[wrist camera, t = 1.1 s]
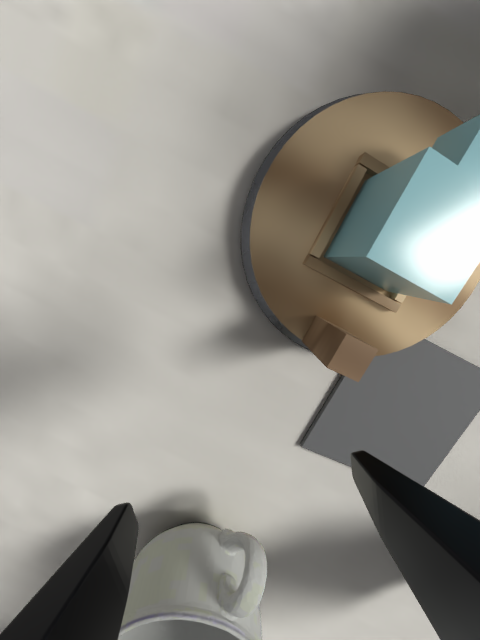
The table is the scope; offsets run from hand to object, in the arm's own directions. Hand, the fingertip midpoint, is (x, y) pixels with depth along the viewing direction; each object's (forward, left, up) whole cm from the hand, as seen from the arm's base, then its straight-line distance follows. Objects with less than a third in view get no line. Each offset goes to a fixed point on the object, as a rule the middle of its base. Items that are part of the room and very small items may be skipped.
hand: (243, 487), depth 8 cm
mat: (+1, -15, -12) cm, 19 cm away
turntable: (+11, -5, -12) cm, 17 cm away
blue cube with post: (+13, -5, -10) cm, 17 cm away
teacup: (-17, -6, -12) cm, 22 cm away
